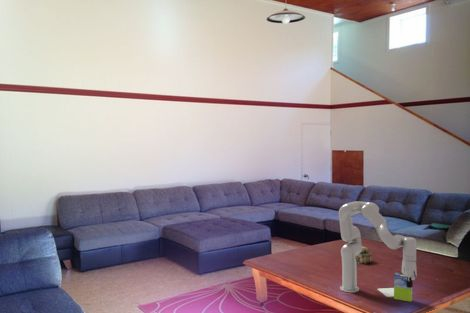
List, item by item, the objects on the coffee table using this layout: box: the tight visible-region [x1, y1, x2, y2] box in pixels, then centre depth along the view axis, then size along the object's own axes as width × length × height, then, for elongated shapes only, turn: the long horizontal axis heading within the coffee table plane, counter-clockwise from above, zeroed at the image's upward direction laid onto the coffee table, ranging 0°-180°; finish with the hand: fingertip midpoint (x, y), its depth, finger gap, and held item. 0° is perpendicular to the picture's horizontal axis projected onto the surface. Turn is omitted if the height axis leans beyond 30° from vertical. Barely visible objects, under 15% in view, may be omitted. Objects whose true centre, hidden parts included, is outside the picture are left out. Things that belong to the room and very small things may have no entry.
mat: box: [377, 287, 394, 298], centre depth 264 cm, size 14×16×1 cm
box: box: [393, 272, 413, 303], centre depth 251 cm, size 10×4×17 cm, turn 60°
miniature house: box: [355, 245, 373, 265], centre depth 333 cm, size 15×14×11 cm
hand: (409, 287), depth 243 cm, fingers closed
